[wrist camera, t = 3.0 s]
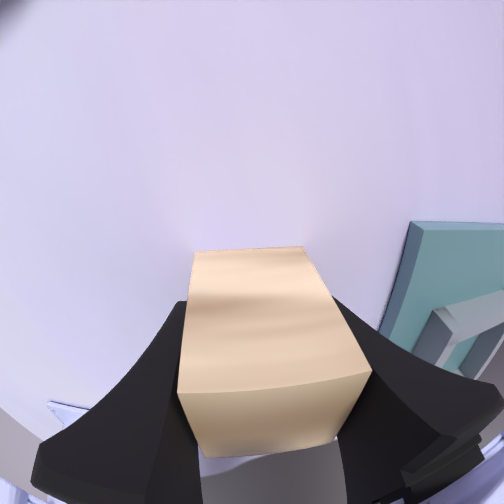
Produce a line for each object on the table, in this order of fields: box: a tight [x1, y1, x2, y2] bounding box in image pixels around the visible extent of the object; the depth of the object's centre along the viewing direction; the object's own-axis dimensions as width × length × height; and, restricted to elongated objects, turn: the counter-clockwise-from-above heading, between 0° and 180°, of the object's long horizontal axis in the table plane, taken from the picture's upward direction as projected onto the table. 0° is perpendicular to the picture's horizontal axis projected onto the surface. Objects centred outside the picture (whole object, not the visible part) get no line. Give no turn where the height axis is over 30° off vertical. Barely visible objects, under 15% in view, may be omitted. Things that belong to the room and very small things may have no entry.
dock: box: [379, 221, 504, 380], centre depth 14 cm, size 18×14×3 cm
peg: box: [177, 246, 372, 458], centre depth 8 cm, size 4×4×6 cm
